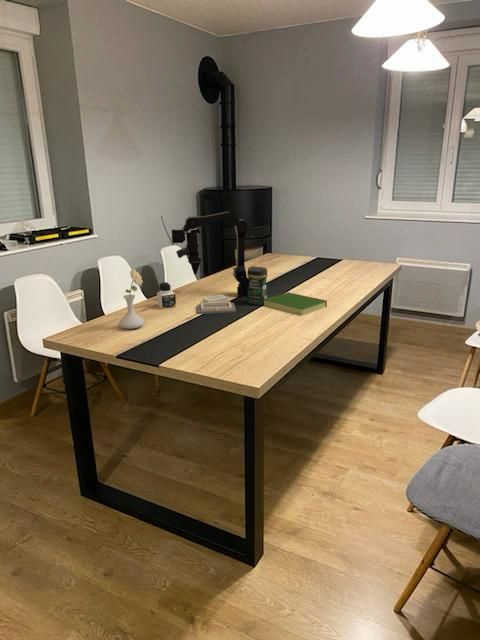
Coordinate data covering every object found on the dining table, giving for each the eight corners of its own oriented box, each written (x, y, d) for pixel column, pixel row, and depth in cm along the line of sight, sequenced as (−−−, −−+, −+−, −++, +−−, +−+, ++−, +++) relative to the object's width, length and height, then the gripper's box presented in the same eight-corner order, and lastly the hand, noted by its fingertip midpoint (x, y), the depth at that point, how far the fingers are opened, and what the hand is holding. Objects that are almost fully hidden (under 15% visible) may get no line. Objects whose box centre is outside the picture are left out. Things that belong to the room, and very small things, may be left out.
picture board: (233, 304, 241) (233, 300, 240) (235, 312, 228) (235, 307, 228) (197, 306, 239) (197, 302, 239) (197, 314, 227) (197, 309, 226)
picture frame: (221, 300, 251) (221, 294, 250) (227, 302, 246) (227, 296, 245) (202, 303, 245) (202, 297, 244) (208, 306, 241) (208, 300, 240)
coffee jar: (245, 303, 242) (244, 267, 236) (253, 300, 248) (253, 264, 243) (261, 306, 237) (261, 269, 231) (269, 302, 243) (269, 266, 237)
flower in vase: (132, 332, 203) (127, 274, 196) (113, 328, 209) (107, 271, 201) (153, 324, 214) (149, 268, 206) (134, 320, 220) (129, 265, 212)
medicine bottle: (162, 309, 235) (160, 285, 232) (157, 306, 241) (156, 282, 238) (176, 307, 238) (174, 283, 235) (171, 303, 245) (169, 280, 241)
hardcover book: (326, 308, 234) (326, 300, 233) (302, 316, 222) (302, 308, 220) (287, 299, 251) (287, 292, 250) (262, 306, 239) (262, 299, 238)
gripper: (175, 240, 252) (178, 270, 257) (177, 246, 234) (179, 277, 239) (197, 239, 254) (198, 268, 258) (200, 244, 236) (202, 276, 241)
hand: (194, 272), depth 249 cm, fingers open, 9 cm apart
